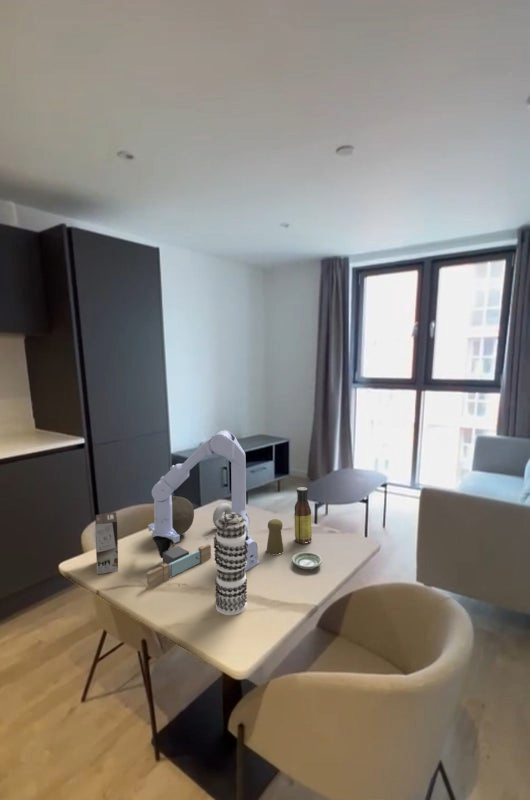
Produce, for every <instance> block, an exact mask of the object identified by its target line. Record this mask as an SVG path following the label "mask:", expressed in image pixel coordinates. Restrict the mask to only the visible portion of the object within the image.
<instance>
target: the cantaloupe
mask: <svg viewBox="0 0 530 800" xmlns="http://www.w3.org/2000/svg"><path fill="white" fill-rule="evenodd" d="M194 519H195V508H194V506H193V503H192V502H191V501H190V500H189V499H187V498H185V497H182V496H172V528H173V529H174V530H175V532H176V533H177V534H178V535H180V536H182V535H183V534H185V533H186V532H187V531H188V530H189V529H190V528H191V526H192V525H193V522H194Z"/></svg>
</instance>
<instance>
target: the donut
mask: <svg viewBox="0 0 530 800" xmlns="http://www.w3.org/2000/svg"><path fill="white" fill-rule="evenodd" d="M223 513H224V514H225V513H232V505H231V504H230V503H227V502H222V503H220V504H218V505H217V507H215V509H214V510H213V514H212V515H213V516H212V522H213V525H214V526H215V527H216V528H217V524H216V521H217V520H218V519H219V518H220V517H221V516H222V515H223Z"/></svg>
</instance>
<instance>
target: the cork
mask: <svg viewBox="0 0 530 800" xmlns="http://www.w3.org/2000/svg"><path fill="white" fill-rule="evenodd" d="M283 526H284V525H283V522H282V521H281V520H279V519H275V518H274V519H270V520H269V521H268V523H267V529H268V537H267V543H266V550H267V551H266V553H267V552H268V553H270V554H269V555H271V554H279V553H282V552H283V553H284V545H283V544H284V543H283V535H282V529H283ZM268 553H267V554H268ZM283 553H282V554H283ZM279 555H280V554H279Z"/></svg>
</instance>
